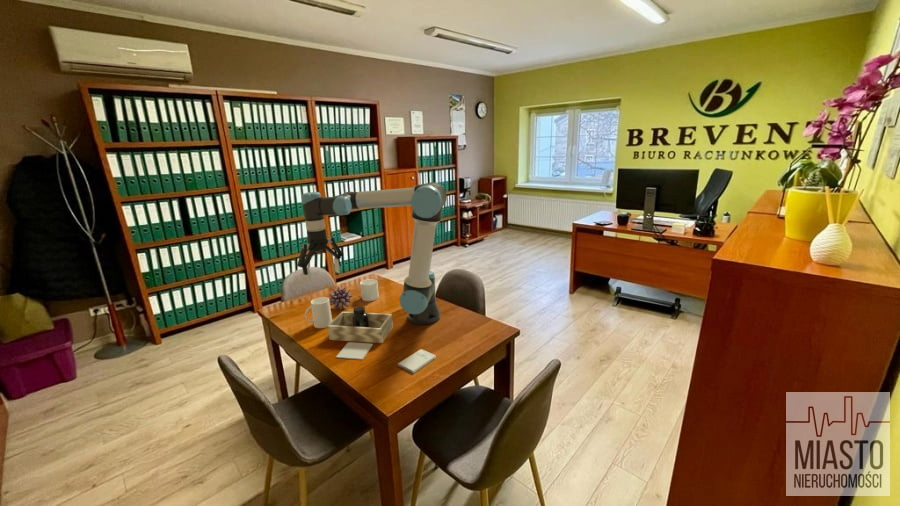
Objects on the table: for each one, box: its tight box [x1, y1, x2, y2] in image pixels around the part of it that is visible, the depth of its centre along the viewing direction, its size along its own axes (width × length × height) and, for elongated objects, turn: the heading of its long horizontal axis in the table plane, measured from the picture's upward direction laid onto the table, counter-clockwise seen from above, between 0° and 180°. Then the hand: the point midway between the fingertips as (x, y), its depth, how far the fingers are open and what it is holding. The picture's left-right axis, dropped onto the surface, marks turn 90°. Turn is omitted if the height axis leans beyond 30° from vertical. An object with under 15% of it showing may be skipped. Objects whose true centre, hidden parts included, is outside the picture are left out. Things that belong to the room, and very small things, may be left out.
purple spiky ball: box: [328, 285, 353, 310], centre depth 182 cm, size 12×12×12 cm
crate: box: [326, 311, 394, 344], centre depth 158 cm, size 24×14×6 cm, turn 80°
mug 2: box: [359, 278, 380, 302], centre depth 195 cm, size 12×9×9 cm
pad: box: [335, 341, 374, 361], centre depth 145 cm, size 11×11×1 cm
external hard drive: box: [397, 348, 437, 374], centre depth 137 cm, size 2×8×12 cm
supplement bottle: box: [352, 305, 369, 327], centre depth 157 cm, size 7×7×12 cm
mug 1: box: [304, 296, 333, 329], centre depth 166 cm, size 12×8×12 cm
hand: (323, 276), depth 157 cm, fingers open, 13 cm apart
